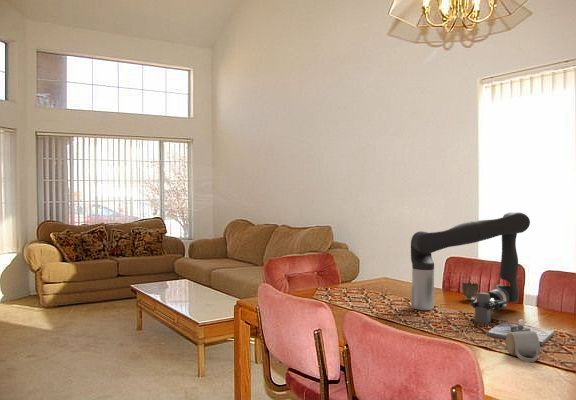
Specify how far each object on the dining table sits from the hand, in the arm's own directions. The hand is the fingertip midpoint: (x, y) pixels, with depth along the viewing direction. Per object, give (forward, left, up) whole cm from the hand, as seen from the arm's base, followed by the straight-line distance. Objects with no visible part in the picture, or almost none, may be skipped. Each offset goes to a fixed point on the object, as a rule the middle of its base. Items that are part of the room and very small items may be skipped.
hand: (480, 306), depth 199 cm
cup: (-3, +44, -7) cm, 44 cm away
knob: (+1, +3, -7) cm, 7 cm away
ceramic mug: (+11, -39, -7) cm, 41 cm away
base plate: (+13, -12, -7) cm, 19 cm away
